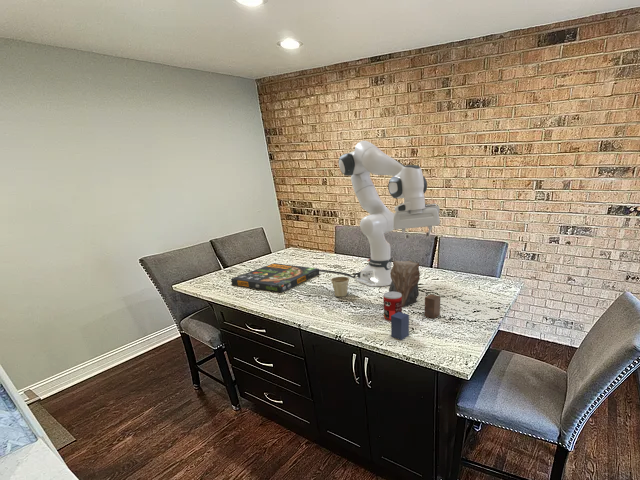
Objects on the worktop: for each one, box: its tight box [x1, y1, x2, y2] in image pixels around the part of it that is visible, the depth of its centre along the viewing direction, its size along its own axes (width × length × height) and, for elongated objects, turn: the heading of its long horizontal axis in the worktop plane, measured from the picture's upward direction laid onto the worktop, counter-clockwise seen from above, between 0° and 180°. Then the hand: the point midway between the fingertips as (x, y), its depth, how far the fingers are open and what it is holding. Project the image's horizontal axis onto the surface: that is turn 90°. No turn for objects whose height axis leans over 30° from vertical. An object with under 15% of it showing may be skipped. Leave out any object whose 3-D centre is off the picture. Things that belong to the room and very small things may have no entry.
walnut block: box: [424, 293, 441, 320], centre depth 150 cm, size 5×5×9 cm
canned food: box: [383, 291, 403, 322], centre depth 148 cm, size 8×8×11 cm
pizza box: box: [230, 262, 320, 293], centre depth 200 cm, size 35×35×4 cm
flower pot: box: [330, 276, 350, 298], centre depth 174 cm, size 9×9×9 cm
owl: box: [388, 260, 421, 308], centre depth 164 cm, size 13×13×20 cm
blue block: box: [390, 312, 410, 341], centre depth 132 cm, size 5×5×9 cm
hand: (417, 237), depth 147 cm, fingers open, 8 cm apart
